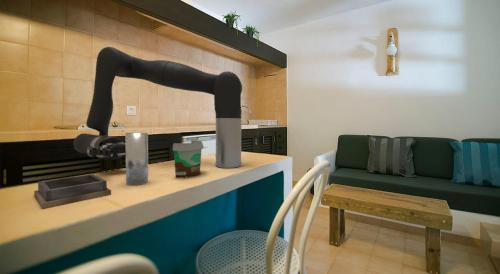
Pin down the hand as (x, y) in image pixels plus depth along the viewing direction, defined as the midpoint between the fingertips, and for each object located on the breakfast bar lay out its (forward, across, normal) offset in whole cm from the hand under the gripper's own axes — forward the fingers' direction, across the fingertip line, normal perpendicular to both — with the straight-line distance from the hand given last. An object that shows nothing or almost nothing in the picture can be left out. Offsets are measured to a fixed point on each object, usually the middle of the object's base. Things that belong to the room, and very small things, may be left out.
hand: (126, 151), depth 64 cm
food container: (+10, +15, +8) cm, 20 cm away
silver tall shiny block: (+7, 0, +8) cm, 10 cm away
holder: (+7, -14, +8) cm, 17 cm away
